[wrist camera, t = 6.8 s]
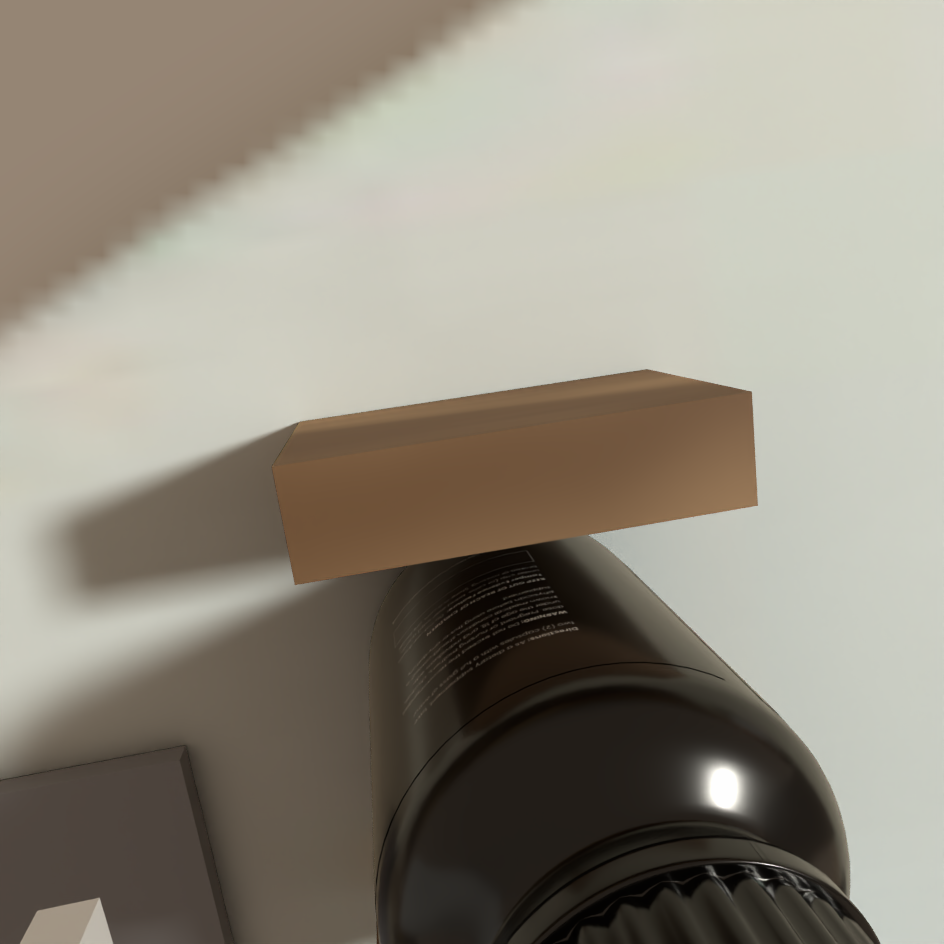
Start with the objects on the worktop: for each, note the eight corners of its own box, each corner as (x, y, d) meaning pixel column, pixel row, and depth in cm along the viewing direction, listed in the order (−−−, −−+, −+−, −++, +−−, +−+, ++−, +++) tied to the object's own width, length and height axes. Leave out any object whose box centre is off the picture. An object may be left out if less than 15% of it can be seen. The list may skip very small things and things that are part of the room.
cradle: (685, 831, 20) (783, 992, 16) (387, 894, 20) (394, 1085, 15) (647, 369, 18) (751, 391, 13) (299, 421, 17) (271, 466, 12)
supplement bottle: (366, 775, 19) (360, 1517, 7) (371, 508, 18) (376, 896, 6) (632, 766, 20) (1004, 1409, 8) (658, 511, 19) (1147, 853, 7)
